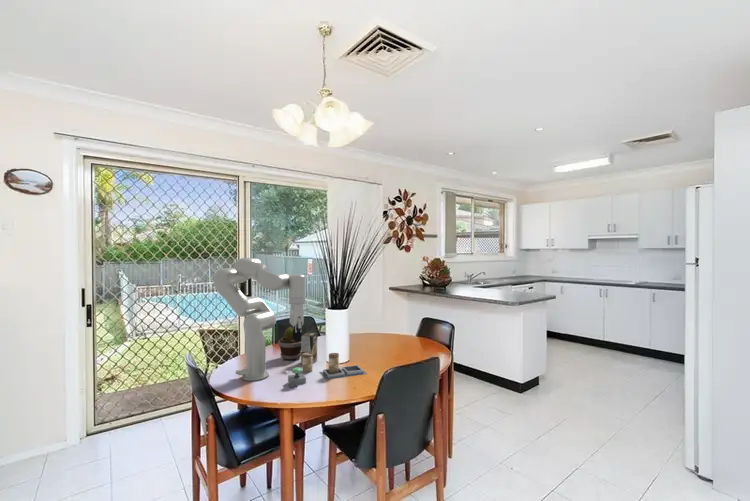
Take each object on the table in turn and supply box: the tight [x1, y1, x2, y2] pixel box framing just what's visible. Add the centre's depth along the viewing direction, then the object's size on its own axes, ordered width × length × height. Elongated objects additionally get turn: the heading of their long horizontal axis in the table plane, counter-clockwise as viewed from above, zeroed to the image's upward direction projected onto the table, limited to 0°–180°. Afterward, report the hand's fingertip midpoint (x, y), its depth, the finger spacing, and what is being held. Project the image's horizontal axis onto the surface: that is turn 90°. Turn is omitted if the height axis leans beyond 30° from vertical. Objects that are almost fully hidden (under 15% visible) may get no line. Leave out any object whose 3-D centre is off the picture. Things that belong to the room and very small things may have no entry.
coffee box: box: [300, 332, 318, 366], centre depth 204 cm, size 9×6×16 cm
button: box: [291, 366, 303, 378], centre depth 171 cm, size 4×4×4 cm
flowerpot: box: [277, 326, 301, 362], centre depth 212 cm, size 14×15×20 cm
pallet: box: [318, 364, 368, 381], centre depth 183 cm, size 22×12×3 cm, turn 113°
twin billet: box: [328, 352, 340, 374], centre depth 181 cm, size 5×5×10 cm
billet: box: [301, 353, 313, 374], centre depth 186 cm, size 5×5×10 cm
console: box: [287, 372, 307, 389], centre depth 171 cm, size 7×7×4 cm
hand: (297, 339), depth 171 cm, fingers open, 3 cm apart
